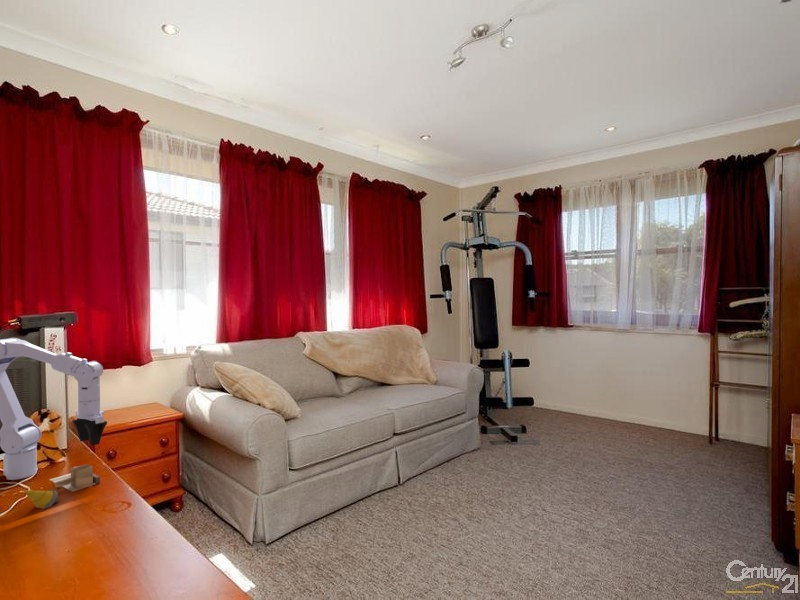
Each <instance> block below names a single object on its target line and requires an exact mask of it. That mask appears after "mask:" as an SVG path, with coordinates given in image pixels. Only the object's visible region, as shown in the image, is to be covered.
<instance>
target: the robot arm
mask: <svg viewBox="0 0 800 600" xmlns="http://www.w3.org/2000/svg"><path fill="white" fill-rule="evenodd" d="M19 357H25V358H30V359H32V360H36V361H39V362H43V363H46V364H49V365H50V366H51V368H52V370H54V371H57V372H59V373H63V374H66V375H69V376H71V377H74V379H75V380H76V381H77V405H78V406H77V409H78V410H77V411H76V412H75V418H76V419H74V420H73V419H72V420H71V423H72V424H73V426H74V427H75V430H76V432H77V436H78V438H79V441H80V442H85V441H89V443H90V446H92V447H93V446H97V445H100V442H101V440H102V439H101V438H102V436H103V435H102V434H103V433H104V430H105V428H106V426H107V424H108V421H106V420H104V416H103V415H104V414H105V411H103V410H101V376H102V375H103V373H104V367H103V365H102V364H101V363H100V362H98V361H97V360H91V361H88V359H87V358H81V357H77V356H74V355H73V353H72V352H69V351H68V352H61V353H58V354H57V353H55V352H52V351H50V350H48V349H45V348H42V347H41V346H38V345H35V344H32V343H30V342H28V341H27V340H24V339H20V338H17V337H8V338H2V339H0V422H1V424H2V426H1V428H0V449H1V450H2V451H3V452H4V453H5V454H4V456H3V458H2V459H3V460H2V461H3V462H2V463H3V465H2V466H3V476H5V477H6V480H8V481H9V480H11V481H15V480H22V479H25V478H29V477H32V476H34V475H36V474H37V473H38V457H37V456H38V453H37V452H38V451H37V450H38V449H37V448H38V442H39V441H40V440H41V438H42V434H43V433H42V429H41V428H40V427H39V426H37V425H36V424H35V422H34V420H33V419H32V418H30V417H28V416H26V415H25V412H24V411H23V409H22V406H21V404H20V402H19V399H18V397H17V395H16V392H15V390H14V388H13V386H12V383H11V381H10V378H9V376H8V374H7V372H6V370H7V369H8V367H9V365H11V363H12V362H13V361H15V360H16V359H18V358H19Z"/></svg>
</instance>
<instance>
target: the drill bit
mask: <svg viewBox="0 0 800 600" xmlns="http://www.w3.org/2000/svg"><path fill="white" fill-rule="evenodd" d="M23 492H24V493H25V495H26V496H27V497H28V498H29V500H30V501H31V503H33V505H34V506H35V508H36V509H44V510H42V511H40V512H41V513H42V512H45V511H46V510H45V509H47V508H51V507H52V506H53V505H54V504H56V503H58V502H59V501H60V500H61V499H60V498H58V494H59V493H58V490H57V491H56V490H55V489H49V490H32V489H31V490H27V489H26V490H25V489H24V490H23Z"/></svg>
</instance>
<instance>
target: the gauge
mask: <svg viewBox="0 0 800 600" xmlns="http://www.w3.org/2000/svg"><path fill="white" fill-rule="evenodd" d="M73 467H74V468H71V467H70V473H71V478H68V479H65V480H61V481H58V482H54V485H55V486H54V487H55V488H56V490H57V491H60V488H61V487H62V486H64V485H67V484H70V483H71V486H73V487H75V488H77V489H78V488H81V487H84V486H87V485H90V484H93V474H94V473H93V472H94V469H93V466H92V465H90V464H87V463H86V464H82V465H79V466H77V467H75V466H73Z"/></svg>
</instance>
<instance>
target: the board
mask: <svg viewBox="0 0 800 600" xmlns="http://www.w3.org/2000/svg"><path fill="white" fill-rule="evenodd" d="M74 467H78V466H76V465H75V466H73V467H72V468H74ZM68 478H71V472H70V473H68V474H63V475H61V476H57V477H54V478H49V481H50V482H53V483H55V482H58V481H61V480H65V479H68ZM100 483H101V476H100V475H98V474H96V473H93V484H90V485H87V486H84V487H81V488H78V489H77V488H75V487H73V486H71V483H70V484H67V485H64V486H61V487H63V488H65V489H66V490H68V491H70V492H71V493H72V492H76V491H79V490H82V489H85V488H88V487H91V486H95V485H97V484H100Z"/></svg>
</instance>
